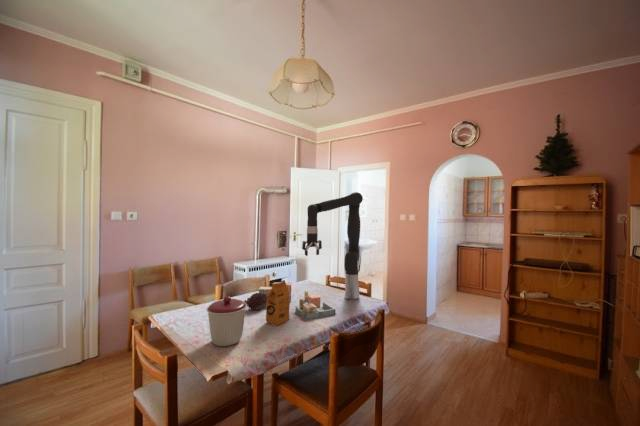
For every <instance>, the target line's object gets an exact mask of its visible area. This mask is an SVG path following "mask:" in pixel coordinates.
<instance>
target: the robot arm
mask: <svg viewBox="0 0 640 426" xmlns="http://www.w3.org/2000/svg"><path fill="white" fill-rule="evenodd" d="M363 199H364V197H363V195H362V193H360V192H357V191H354V192H351V193H349V194H348V195H346V196H342V197H340V198H335V199H334V198H333V199H329V200H324V201H321V202H319V203H313V204H309V205H308V206H307V223H306V224H307V228H306V240H302V243H301V244H302V245H301V249H302V250H303V251H304V255H305V257H308V250H309V249H310V248H315V249H316V251H315V253H316V256H319V255H320V250H322V248H323V247H322V244H323V243H322V240H318V236H319V233H318V232H319V231H318V230H319V229H318V214H319V213H323V212H328V211H332V210H335V209H338V208H342V207H346V206H348V217H347V227H346V228H347V229H346V230H347V231H346V232H347V239H348V250H347V253H345V256H344V271H345V274H344V275H345V276H344V279H345V280H344V282H345V283H344V286H345V287H344V298H345V299H347V300H357V299H360V284H359V268H358V267H359V265H358V264H359V263H358V261H359V260H360V236H361V217H360V206H361V205H360V204H362V202H363Z"/></svg>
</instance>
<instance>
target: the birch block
mask: <svg viewBox="0 0 640 426" xmlns="http://www.w3.org/2000/svg"><path fill="white" fill-rule="evenodd" d="M298 303H299V304H298V305H299V306H298V308H299V309H301V310H302V311H303V312H304V313H306V314H307V313H313V312H317V308H318V307H317V306H315V305H314V304H312V303H311V304H308V303H305V304H304V299H303V298H300V299H299V302H298Z"/></svg>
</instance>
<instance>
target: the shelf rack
mask: <svg viewBox="0 0 640 426" xmlns="http://www.w3.org/2000/svg"><path fill="white" fill-rule="evenodd" d="M322 308H324V309H325V310H321V309H319V308H318V307H317V312H313V313H307V314H306V313H304V312H303V310H301V309H299V306H295V313H296V314H298V315H299V316H300V317H301V318H302V319H304V320H305V321H306V320H307V321H308V320H311V319H312V320H313V319H317V318H322V317H328V316H333V315H336V308H334V307H332V306H331V305H329V304H328V303H327V302H322Z"/></svg>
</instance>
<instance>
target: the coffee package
mask: <svg viewBox="0 0 640 426" xmlns="http://www.w3.org/2000/svg"><path fill="white" fill-rule="evenodd" d="M286 282H287V281H286V280H284V279H283V280H281V282H273V283H274V284H273V283H271V284H270V287H272V289H271V293H270V294H269V296H268V298H267V302H266V304H265V305H266V306H265V308H266V309H265V310H266V311H265V312H266V313H265V321H266V323H267V324H269V325H272V326H279V325H280V324H283V323H286V322H287V321H289V320H290V304H291V303H289V291H288V288H287V285H286Z"/></svg>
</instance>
